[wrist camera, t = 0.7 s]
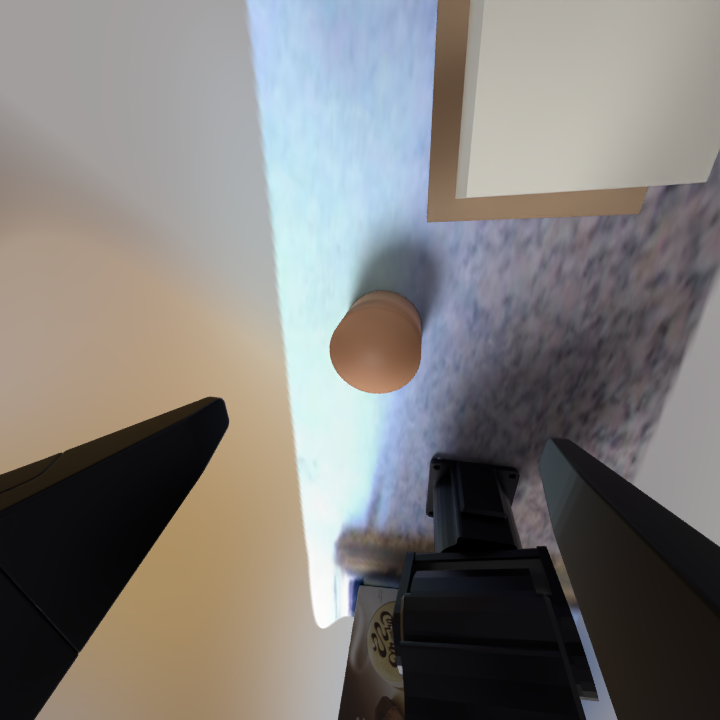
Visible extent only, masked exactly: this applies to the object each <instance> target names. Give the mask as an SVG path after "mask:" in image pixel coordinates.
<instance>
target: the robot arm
mask: <svg viewBox="0 0 720 720" xmlns="http://www.w3.org/2000/svg"><path fill="white" fill-rule="evenodd" d="M228 426H229V418H228V414H227V409H226V405H225V402H224V400H223V399H222V398H217V397H206V398H204V399H201V400H199V401H196V402H193V403H191V404H188V405H185V406H183V407H180V408H177V409H175V410H172V411H169V412H167V413H164V414H162V415H159V416H156V417H154V418H151V419H148V420H146V421H143V422H140V423H138V424H135V425H132V426H130V427H127V428H125V429H122V430H119V431H117V432H114V433H112V434H109V435H106V436H103V437H101V438H98V439H96V440H93V441H90V442H88V443H85V444H83V445H80V446H77V447H75V448H72V449H69V450H67V451H65V452H64V453H58V454H56V455H53V456H50V457H48V458H45V459H43V460H40V461H37V462H34V463H32V464H29V465H26V466H23V467H21V468H18V469H15V470H13V471H10V472H7V473H4V474H1V475H0V720H34V719H35V718H36V717H37V715H38V713H39V712H40V711H41V709H42V708H43V706H44V705H45V703H46V702H47V700H48V699H49V698H50V696H51V695H52V693H53V692H54V690H55V689H56V687H57V686H58V684H59V683H60V681H61V680H62V678H63V677H64V676H65V674H66V673H67V671H68V669H69V668H70V667H71V665H72V664H73V662H74V661H75V659H76V658H77V656H78V653H79V652H80V651H81V650H82V649H83V647H84V646H85V644H86V643H87V641H88V640H89V639H90V637H91V636H92V634H93V633H94V631H95V630H96V628H97V627H98V625H99V624H100V622H101V621H102V620H103V618H104V617H105V615H106V614H107V612H108V611H109V609H110V608H111V606H112V605H113V603H114V602H115V600H116V599H117V597H118V596H119V594H120V593H121V592H122V590H123V589H124V587H125V586H126V584H127V583H128V582H129V580H130V578H131V577H132V576H133V574H134V573H135V571H136V570H137V568H138V567H139V565H140V564H141V563H142V561H143V559H144V558H145V557H146V555H147V554H148V552H149V551H150V549H151V548H152V546H153V545H154V543H155V542H156V541H157V539H158V537H159V536H160V535H161V533H162V532H163V530H164V529H165V527H166V526H167V524H168V523H169V522H170V520H171V519H172V517H173V516H174V514H175V513H176V511H177V510H178V508H179V507H180V505H181V504H182V502H183V501H184V500H185V498H186V497H187V495H188V494H189V492H190V491H191V489H192V488H193V486H194V485H195V484H196V482H197V481H198V479H199V478H200V476H201V475H202V473H203V471H204V470H205V468H206V466H207V465H208V463H209V461H210V459H211V457H212V456H213V454H214V452H215V450H216V448H217V447H218V445H219V443H220V441H221V439H222V438H223V436H224V434H225V432H226V430H227V428H228ZM435 465H438V466H435ZM539 469H540V475H541V479H542V484H543V488H544V493H545V497H546V502H547V506H548V511H549V515H550V520H551V524H552V528H553V531H554V535H555V538H556V541H557V544H558V547H559V550H560V553H561V556H562V559H563V561H564V564H565V567H566V570H567V573H568V576H569V579H570V582H571V585H572V588H573V591H574V594H575V597H576V599H577V602H578V605H579V608H580V611H581V614H582V617H583V620H584V623H585V626H586V629H587V632H588V634H589V637H590V640H591V643H592V646H593V649H594V652H595V655H596V658H597V661H598V663H599V667H600V669H601V672H602V675H603V678H604V681H605V684H606V687H607V690H608V692H609V696H610V699H611V702H612V704H613V707H614V710H615V713H616V716H617V719H618V720H720V547H719V546H718V545H717V544H715V543H714V542H712V541H711V540H709V539H708V538H707V537H705V536H704V535H703V534H701V533H700V532H698V531H697V530H695V529H694V528H693V527H691V526H690V525H688V524H687V523H686V522H684V521H683V520H681V519H680V518H679V517H677V516H676V515H674V514H673V513H672V512H670V511H669V510H667V509H666V508H665V507H663V506H662V505H660V504H659V503H658V502H656V501H655V500H653V499H652V498H650V497H649V496H648V495H646V494H645V493H644V492H642V491H641V490H639V489H638V488H637V487H635V486H634V485H632V484H631V483H630V482H628V481H627V480H625V479H624V478H623V477H621V476H620V475H618V474H617V473H616V472H614V471H613V470H611V469H610V468H609V467H607V466H606V465H604V464H603V463H601V462H600V461H599V460H597V459H596V458H594V457H593V456H592V455H590V454H589V453H587V452H586V451H585V450H583V449H582V448H580V447H579V446H578V445H576V444H575V443H573V442H572V441H571V440H569V439H564V438H555V437H551V438H549V439H548V440H547V443H546V445H545V448H544V451H543V454H542V457H541V460H540V464H539ZM510 474H511V475H510ZM519 477H520V475H519V472H518V470H517V469H516V468H513V467H505V466H496V465H487V464H478V463H469V462H460V461H451V460H442V459H433V460H432V461H431V462H430V471H429V482H428V493H427V504H426V514H427V515H428V516H429V517H434V553H419V554H416V553H415V552H408V553H407V555H406V560H405V564H404V566H403V570H402V575H401V579H400V584H399V588H398V593H397V597H396V602H395V606H394V611H393V615H392V627H391V640H392V642H393V643H394V649H395V657H396V662H397V667H398V670H399V673H400V675H401V677H402V679H403V685H404V709H405V720H586V717H585V714H584V711H583V707H582V704H581V700H580V699H582V700H591V701H599V700H598V695H597V691H596V687H595V684H594V680H593V677H592V674H591V671H590V667H589V664H588V661H587V658H586V655H585V652H584V649H583V646H582V643H581V640H580V637H579V634H578V631H577V628H576V625H575V622H574V619H573V616H572V614H571V611H570V608H569V606H568V603H567V600H566V598H565V595H564V592H563V590H562V587H561V584H560V582H559V579H558V576H557V574H556V571H555V568H554V566H553V563H552V560H551V558H550V555H549V552H548V550H547V547H546V546H537V548H530V549H522V545H521V541H520V538H519V534H518V531H517V527H516V523H515V520H514V516H513V512H512V509H511V505H512V502H513V498H514V495H515V491H516V488H517V484H518V481H519Z"/></svg>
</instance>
